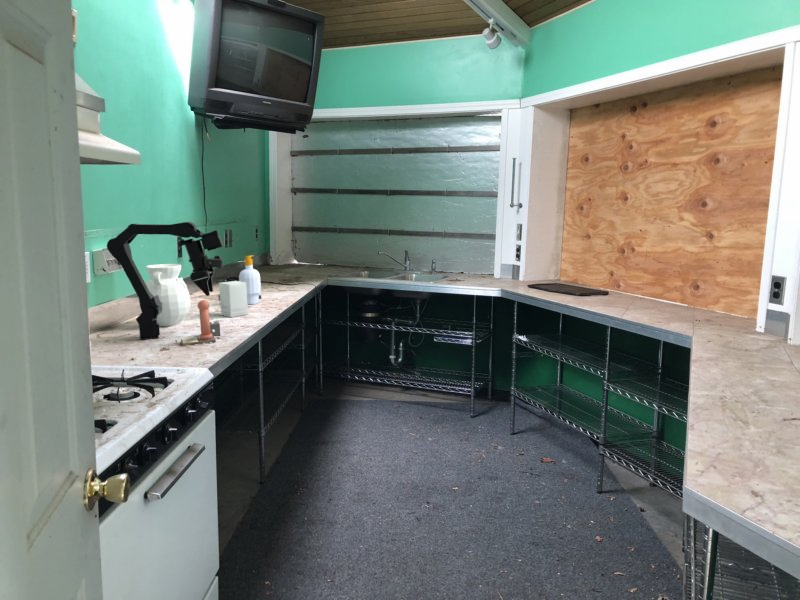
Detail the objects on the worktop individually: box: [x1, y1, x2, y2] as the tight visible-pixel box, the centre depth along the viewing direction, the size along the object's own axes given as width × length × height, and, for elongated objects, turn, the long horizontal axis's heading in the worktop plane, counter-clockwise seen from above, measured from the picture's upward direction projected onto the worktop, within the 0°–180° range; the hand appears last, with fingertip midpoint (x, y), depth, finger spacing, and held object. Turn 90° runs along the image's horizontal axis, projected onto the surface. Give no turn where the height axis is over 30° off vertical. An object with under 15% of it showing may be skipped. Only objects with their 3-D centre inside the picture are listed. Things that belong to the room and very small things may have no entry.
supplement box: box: [218, 280, 249, 318], centre depth 245 cm, size 9×9×15 cm
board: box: [180, 336, 217, 347], centre depth 198 cm, size 11×7×1 cm, turn 116°
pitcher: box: [144, 263, 191, 327], centre depth 227 cm, size 19×18×25 cm
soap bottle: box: [238, 255, 262, 306], centre depth 271 cm, size 10×10×24 cm
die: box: [210, 320, 221, 337], centre depth 207 cm, size 5×6×6 cm
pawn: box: [197, 299, 213, 340], centre depth 197 cm, size 4×4×14 cm
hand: (210, 293), depth 208 cm, fingers open, 9 cm apart
